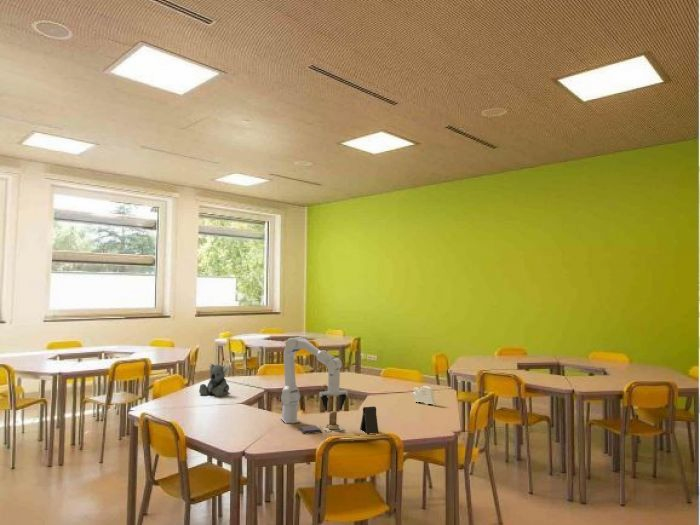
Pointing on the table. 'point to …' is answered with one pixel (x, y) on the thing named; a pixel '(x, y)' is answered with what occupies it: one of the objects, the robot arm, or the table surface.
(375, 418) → the phone stand
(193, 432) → the table surface
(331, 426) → the stamp
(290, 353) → the robot arm
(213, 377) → the koala plush
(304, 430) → the ink pad
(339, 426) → the desk mat
